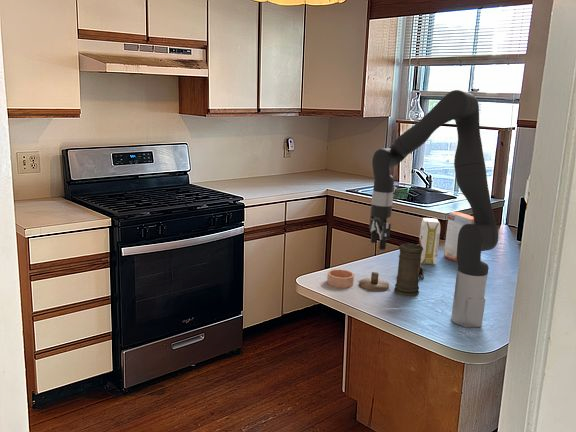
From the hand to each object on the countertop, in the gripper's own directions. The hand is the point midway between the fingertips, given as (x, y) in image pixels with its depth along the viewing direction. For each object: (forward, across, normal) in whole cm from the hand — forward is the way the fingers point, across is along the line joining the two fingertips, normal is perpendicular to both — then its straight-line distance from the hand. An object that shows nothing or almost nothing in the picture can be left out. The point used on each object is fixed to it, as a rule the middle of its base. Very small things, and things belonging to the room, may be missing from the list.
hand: (377, 245), depth 198 cm
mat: (+16, 0, 0) cm, 16 cm away
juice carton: (+16, +27, -35) cm, 47 cm away
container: (+16, -7, -10) cm, 20 cm away
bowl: (+16, +4, +12) cm, 20 cm away
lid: (+16, 0, 0) cm, 16 cm away
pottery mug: (+16, +10, -20) cm, 27 cm away
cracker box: (+16, +28, -51) cm, 60 cm away
